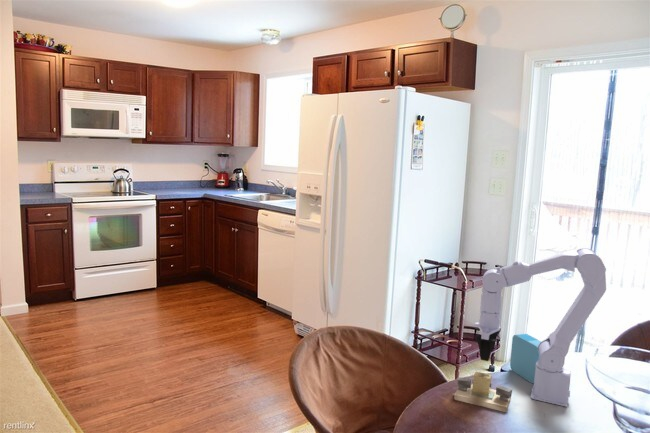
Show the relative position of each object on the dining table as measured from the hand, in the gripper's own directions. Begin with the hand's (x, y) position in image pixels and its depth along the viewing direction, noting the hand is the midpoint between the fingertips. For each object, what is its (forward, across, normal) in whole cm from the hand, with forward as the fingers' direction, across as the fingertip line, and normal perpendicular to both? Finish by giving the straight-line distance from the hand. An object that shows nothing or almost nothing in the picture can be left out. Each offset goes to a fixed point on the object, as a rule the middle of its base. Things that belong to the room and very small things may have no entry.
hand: (486, 355), depth 150 cm
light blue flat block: (+10, -14, +11) cm, 20 cm away
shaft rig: (+9, +9, +1) cm, 13 cm away
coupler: (+8, +9, 0) cm, 12 cm away
